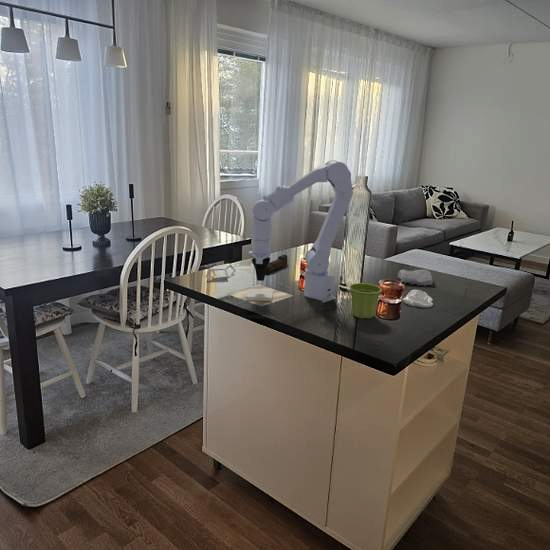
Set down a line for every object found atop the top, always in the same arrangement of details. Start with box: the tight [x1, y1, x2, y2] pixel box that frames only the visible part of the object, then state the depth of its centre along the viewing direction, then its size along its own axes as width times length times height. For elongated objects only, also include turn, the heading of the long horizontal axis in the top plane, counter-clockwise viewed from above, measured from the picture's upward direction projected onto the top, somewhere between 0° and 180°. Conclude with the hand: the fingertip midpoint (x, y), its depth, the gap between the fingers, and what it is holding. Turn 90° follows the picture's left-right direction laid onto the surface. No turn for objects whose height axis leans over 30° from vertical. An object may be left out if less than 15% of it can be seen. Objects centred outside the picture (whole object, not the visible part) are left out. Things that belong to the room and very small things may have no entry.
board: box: [226, 284, 294, 307], centre depth 156 cm, size 16×15×1 cm
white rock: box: [402, 289, 434, 308], centre depth 156 cm, size 10×4×10 cm
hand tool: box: [266, 254, 288, 275], centre depth 190 cm, size 19×4×5 cm, turn 148°
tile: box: [246, 289, 273, 301], centre depth 154 cm, size 8×1×8 cm
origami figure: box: [204, 264, 237, 280], centre depth 174 cm, size 12×8×5 cm
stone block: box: [397, 269, 433, 287], centre depth 179 cm, size 12×5×10 cm
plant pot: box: [348, 282, 383, 320], centre depth 143 cm, size 9×9×9 cm
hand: (260, 280), depth 155 cm, fingers closed
